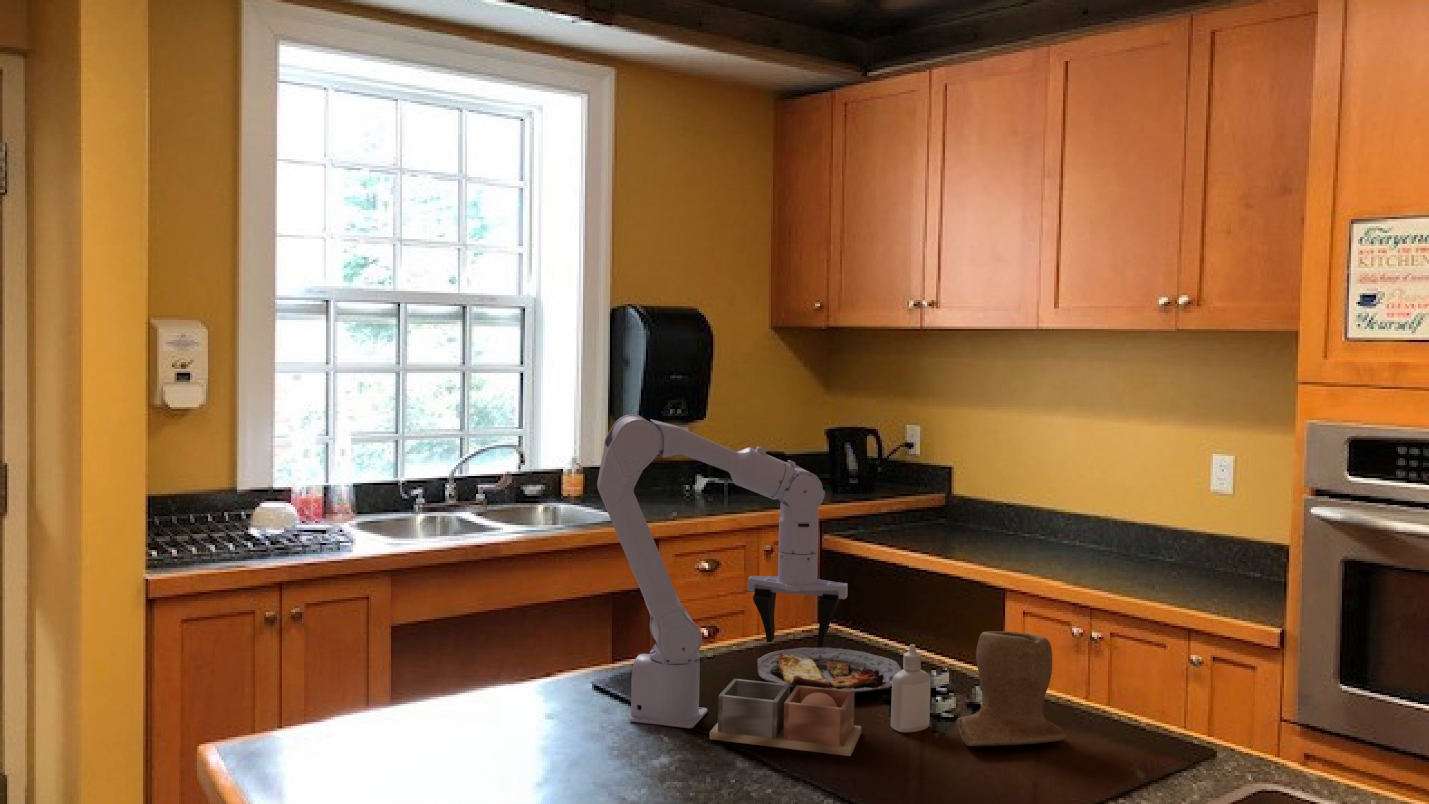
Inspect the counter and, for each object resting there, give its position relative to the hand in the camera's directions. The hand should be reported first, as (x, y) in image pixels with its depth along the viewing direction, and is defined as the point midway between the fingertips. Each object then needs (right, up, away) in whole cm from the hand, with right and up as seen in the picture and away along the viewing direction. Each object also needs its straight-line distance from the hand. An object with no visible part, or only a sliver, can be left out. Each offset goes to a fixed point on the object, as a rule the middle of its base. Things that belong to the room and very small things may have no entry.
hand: (795, 642), depth 168 cm
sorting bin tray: (-2, -11, -9) cm, 14 cm away
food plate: (+7, -10, +17) cm, 21 cm away
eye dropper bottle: (+16, -11, -5) cm, 20 cm away
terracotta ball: (+2, -7, -11) cm, 13 cm away
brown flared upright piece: (+28, -12, -8) cm, 32 cm away
